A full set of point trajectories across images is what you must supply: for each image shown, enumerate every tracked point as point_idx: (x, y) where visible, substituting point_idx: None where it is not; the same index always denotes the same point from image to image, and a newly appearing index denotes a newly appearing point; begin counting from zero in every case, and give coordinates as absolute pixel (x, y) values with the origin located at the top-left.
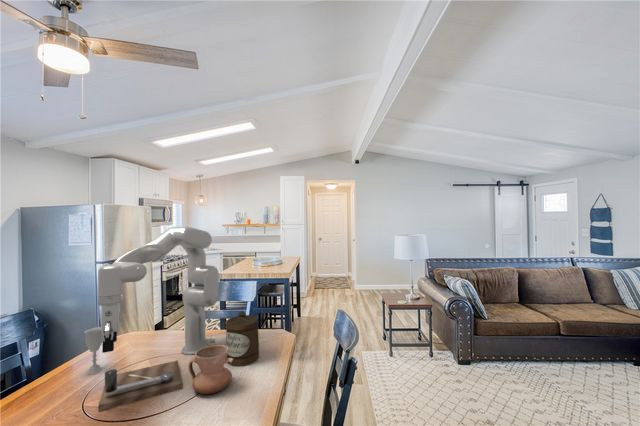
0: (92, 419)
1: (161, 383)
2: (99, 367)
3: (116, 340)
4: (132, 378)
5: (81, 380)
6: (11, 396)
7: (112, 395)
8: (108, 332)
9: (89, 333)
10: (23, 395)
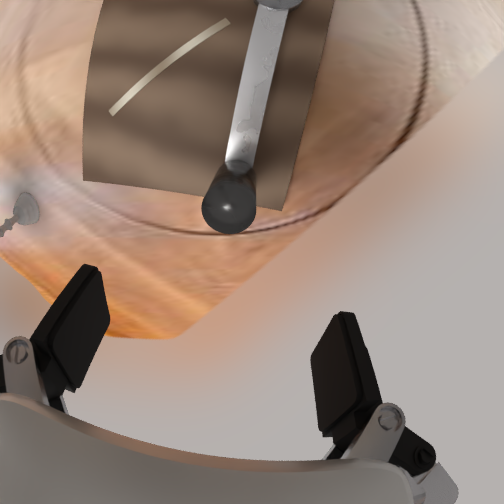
0: (313, 219)
1: None
2: (22, 201)
3: (91, 269)
4: (147, 98)
5: (59, 234)
6: None
7: None
8: (450, 485)
9: None
10: None
